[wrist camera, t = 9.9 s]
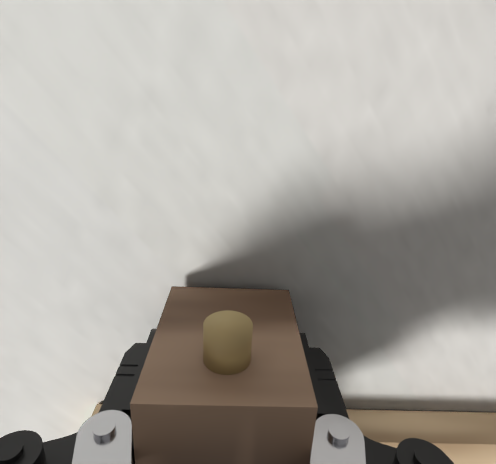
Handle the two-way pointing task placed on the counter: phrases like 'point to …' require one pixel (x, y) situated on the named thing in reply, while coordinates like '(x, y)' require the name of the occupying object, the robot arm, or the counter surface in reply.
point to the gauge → (224, 382)
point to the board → (430, 431)
